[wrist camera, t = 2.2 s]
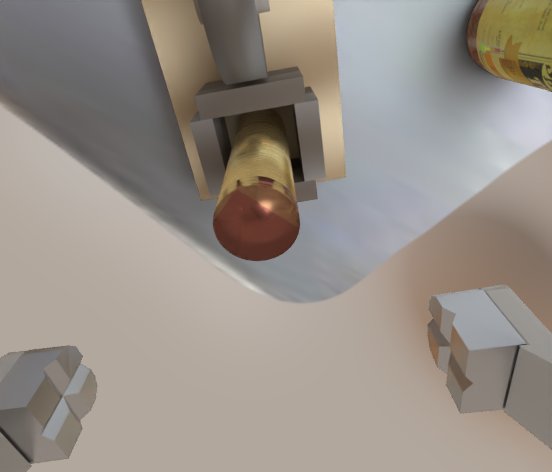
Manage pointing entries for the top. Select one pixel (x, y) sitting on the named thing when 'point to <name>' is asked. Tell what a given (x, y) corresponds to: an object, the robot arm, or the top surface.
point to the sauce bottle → (513, 40)
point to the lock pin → (258, 191)
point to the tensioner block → (252, 81)
